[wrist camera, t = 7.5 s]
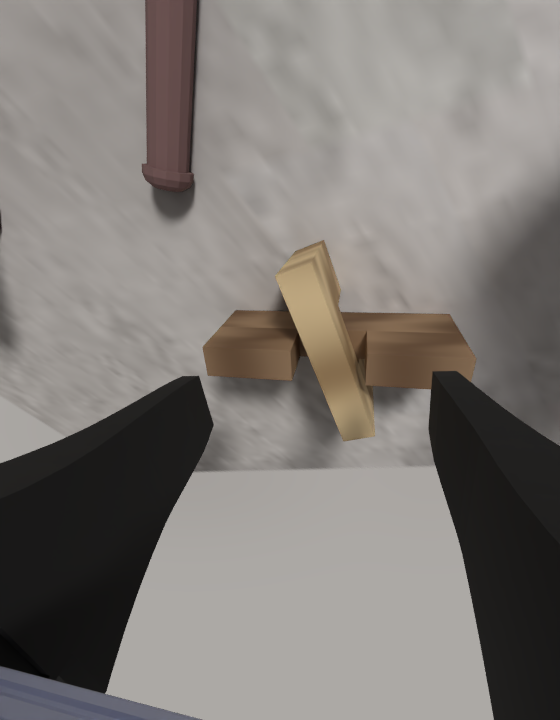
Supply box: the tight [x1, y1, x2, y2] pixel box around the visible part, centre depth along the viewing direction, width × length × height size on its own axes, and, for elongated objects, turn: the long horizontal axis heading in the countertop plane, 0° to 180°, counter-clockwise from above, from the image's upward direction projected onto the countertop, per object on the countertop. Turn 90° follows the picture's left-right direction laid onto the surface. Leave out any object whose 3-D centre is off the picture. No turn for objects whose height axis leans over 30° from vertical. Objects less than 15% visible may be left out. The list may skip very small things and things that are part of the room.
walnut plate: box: [203, 310, 476, 389], centre depth 18 cm, size 12×2×5 cm, turn 93°
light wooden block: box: [275, 240, 375, 441], centre depth 17 cm, size 9×2×5 cm, turn 23°
